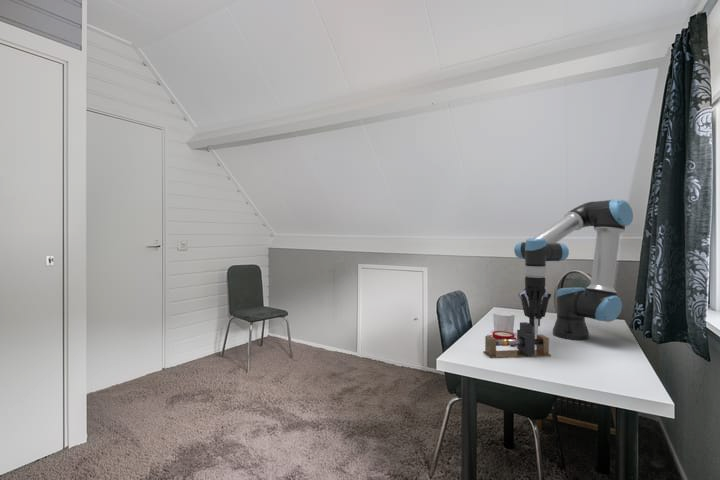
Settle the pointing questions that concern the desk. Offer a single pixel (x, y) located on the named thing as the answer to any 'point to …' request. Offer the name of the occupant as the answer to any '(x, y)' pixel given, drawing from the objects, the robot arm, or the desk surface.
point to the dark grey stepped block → (526, 338)
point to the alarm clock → (503, 335)
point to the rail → (491, 352)
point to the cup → (503, 321)
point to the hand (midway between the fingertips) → (534, 334)
